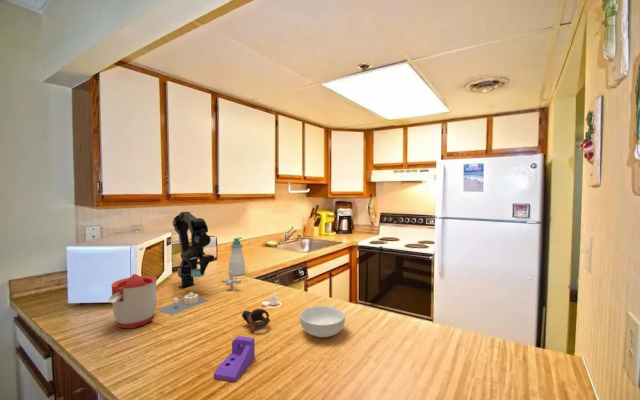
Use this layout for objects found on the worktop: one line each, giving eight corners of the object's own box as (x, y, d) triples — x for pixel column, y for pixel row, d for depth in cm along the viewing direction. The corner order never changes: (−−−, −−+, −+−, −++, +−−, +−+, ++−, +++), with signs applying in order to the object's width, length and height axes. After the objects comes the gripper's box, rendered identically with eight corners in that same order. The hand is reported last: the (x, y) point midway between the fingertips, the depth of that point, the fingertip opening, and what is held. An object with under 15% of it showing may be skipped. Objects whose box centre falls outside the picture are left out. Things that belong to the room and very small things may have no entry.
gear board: (156, 312, 129) (156, 299, 129) (194, 298, 145) (194, 287, 145) (171, 318, 123) (171, 304, 123) (209, 302, 140) (209, 291, 139)
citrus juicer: (98, 329, 113) (96, 278, 113) (139, 311, 130) (138, 267, 129) (127, 336, 108) (125, 283, 107) (166, 317, 124) (165, 270, 124)
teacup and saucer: (259, 307, 135) (259, 299, 135) (267, 301, 143) (267, 293, 142) (277, 309, 133) (277, 301, 132) (284, 303, 140) (284, 294, 140)
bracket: (235, 356, 96) (235, 335, 96) (254, 358, 94) (254, 338, 94) (213, 379, 84) (213, 355, 84) (235, 383, 83) (234, 359, 82)
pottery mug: (273, 322, 120) (274, 309, 116) (263, 343, 112) (263, 330, 108) (246, 313, 122) (246, 300, 118) (234, 332, 114) (234, 319, 110)
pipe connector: (243, 287, 161) (243, 269, 161) (237, 294, 151) (236, 274, 151) (226, 286, 162) (226, 269, 162) (218, 293, 152) (218, 274, 152)
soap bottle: (248, 273, 188) (247, 237, 187) (236, 277, 180) (235, 240, 179) (237, 270, 193) (237, 236, 193) (225, 274, 185) (225, 238, 184)
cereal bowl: (312, 348, 100) (311, 328, 99) (293, 328, 114) (293, 310, 114) (353, 337, 107) (353, 318, 107) (331, 319, 122) (331, 302, 122)
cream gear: (180, 303, 136) (180, 296, 136) (192, 298, 142) (192, 292, 142) (189, 305, 133) (189, 299, 133) (201, 301, 139) (201, 294, 139)
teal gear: (188, 276, 149) (188, 270, 149) (199, 273, 154) (199, 267, 154) (196, 278, 146) (196, 272, 146) (207, 274, 151) (206, 269, 151)
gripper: (171, 244, 147) (172, 274, 148) (195, 248, 138) (196, 280, 138) (191, 240, 157) (191, 269, 158) (214, 244, 147) (215, 274, 148)
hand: (198, 273), depth 150 cm, fingers closed on teal gear, 6 cm apart
